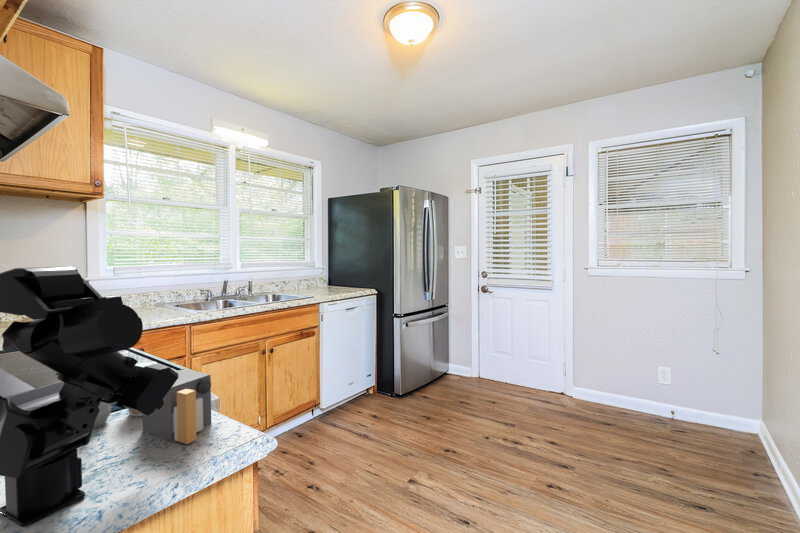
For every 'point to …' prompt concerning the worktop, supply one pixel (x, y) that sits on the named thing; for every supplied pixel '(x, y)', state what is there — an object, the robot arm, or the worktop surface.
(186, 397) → the wooden upright post
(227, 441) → the worktop surface
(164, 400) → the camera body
